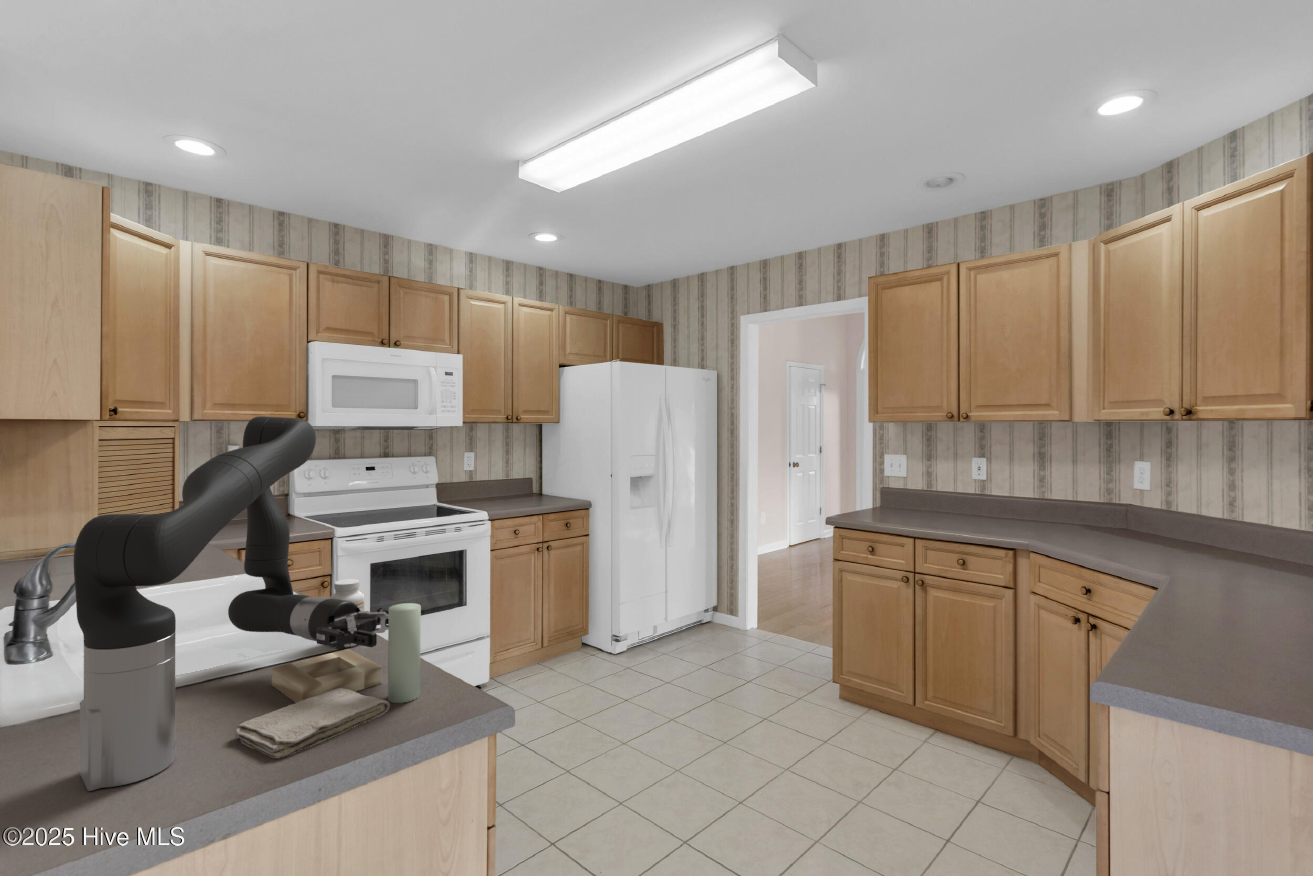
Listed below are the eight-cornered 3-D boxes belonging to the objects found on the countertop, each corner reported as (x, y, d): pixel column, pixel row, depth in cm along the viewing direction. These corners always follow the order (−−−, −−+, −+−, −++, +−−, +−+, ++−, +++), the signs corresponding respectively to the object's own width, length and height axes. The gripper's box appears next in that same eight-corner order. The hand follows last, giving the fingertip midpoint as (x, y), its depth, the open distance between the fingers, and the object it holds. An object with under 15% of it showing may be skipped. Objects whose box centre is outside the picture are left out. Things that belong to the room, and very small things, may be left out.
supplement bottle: (331, 639, 134) (332, 578, 134) (366, 636, 136) (366, 576, 136) (325, 650, 128) (326, 586, 127) (361, 647, 130) (362, 584, 129)
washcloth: (228, 744, 91) (228, 722, 91) (342, 698, 107) (342, 679, 107) (278, 766, 86) (278, 743, 85) (391, 714, 101) (391, 695, 101)
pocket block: (302, 707, 102) (302, 688, 102) (271, 685, 110) (271, 667, 110) (381, 683, 112) (381, 666, 112) (348, 664, 120) (348, 648, 120)
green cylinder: (397, 706, 103) (398, 613, 103) (382, 697, 106) (382, 607, 106) (425, 696, 107) (426, 607, 107) (410, 688, 110) (411, 601, 110)
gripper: (289, 609, 107) (361, 622, 101) (358, 589, 120) (426, 600, 114) (288, 653, 107) (360, 669, 101) (358, 629, 120) (425, 642, 114)
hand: (395, 632), depth 107 cm, fingers open, 8 cm apart
